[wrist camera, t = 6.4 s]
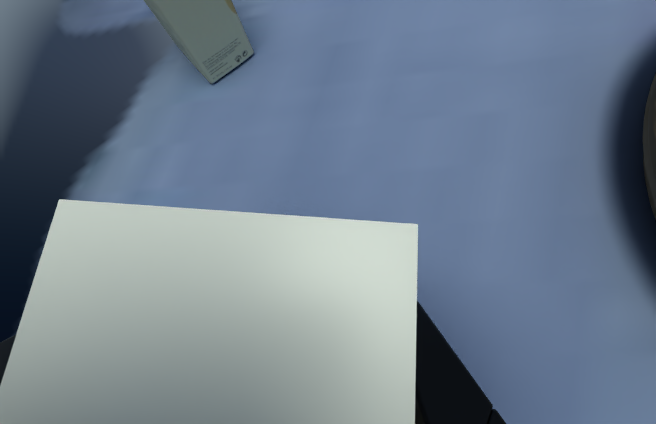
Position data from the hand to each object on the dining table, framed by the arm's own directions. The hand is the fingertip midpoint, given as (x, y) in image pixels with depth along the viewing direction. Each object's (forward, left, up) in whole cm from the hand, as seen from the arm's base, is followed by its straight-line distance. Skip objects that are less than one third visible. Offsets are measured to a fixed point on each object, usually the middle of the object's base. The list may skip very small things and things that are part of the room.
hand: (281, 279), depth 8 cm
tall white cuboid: (-1, 0, -7) cm, 7 cm away
